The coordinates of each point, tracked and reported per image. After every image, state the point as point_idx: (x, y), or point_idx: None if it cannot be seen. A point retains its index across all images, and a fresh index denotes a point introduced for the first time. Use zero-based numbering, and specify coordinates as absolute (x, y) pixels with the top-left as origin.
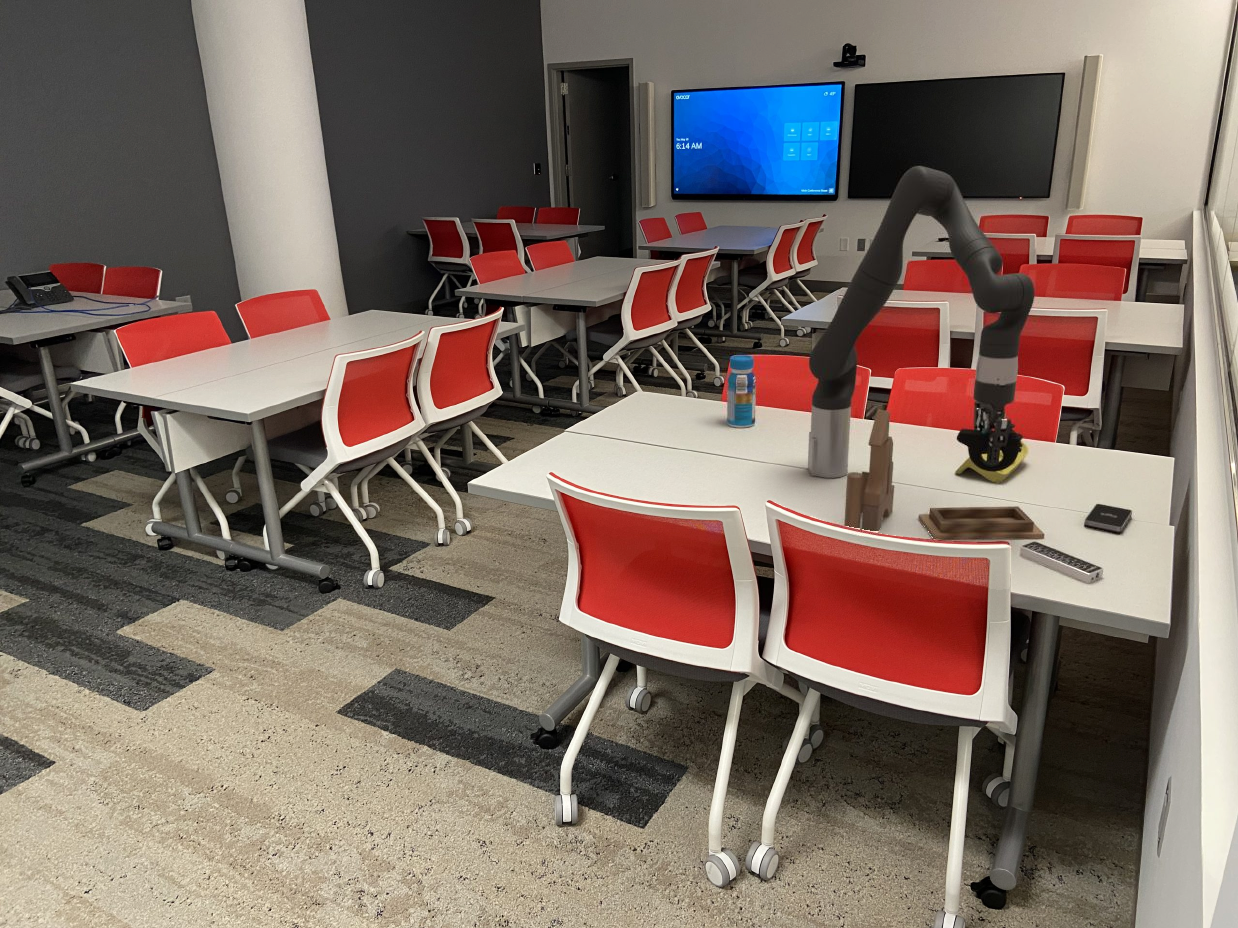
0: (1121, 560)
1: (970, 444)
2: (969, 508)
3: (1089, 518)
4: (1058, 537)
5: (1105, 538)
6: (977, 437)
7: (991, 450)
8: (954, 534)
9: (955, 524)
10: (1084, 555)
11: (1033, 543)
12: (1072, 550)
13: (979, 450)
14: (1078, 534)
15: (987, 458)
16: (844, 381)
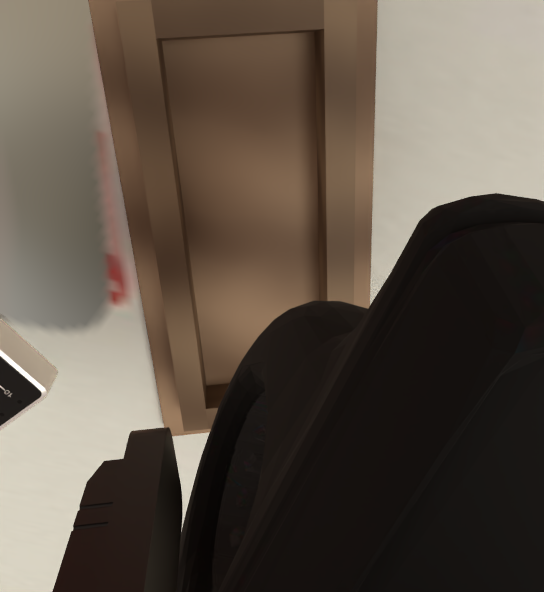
0: (26, 574)
1: (326, 384)
2: (338, 213)
3: None
4: (183, 465)
5: None
6: (297, 574)
7: (82, 578)
8: (113, 80)
9: (130, 89)
10: (42, 500)
11: (18, 384)
12: (77, 479)
13: (267, 440)
14: None
15: (138, 460)
16: None
